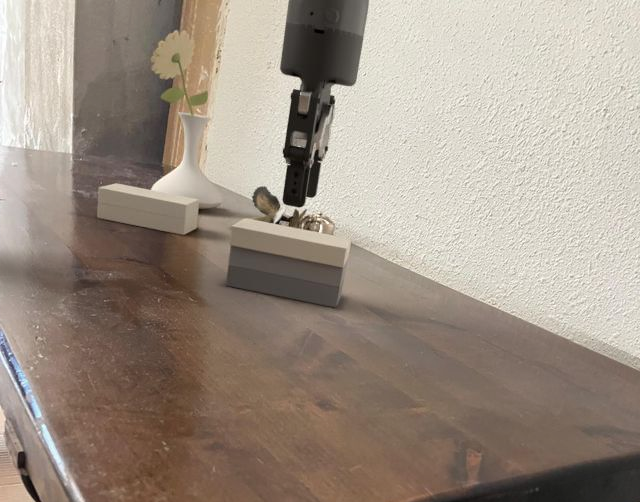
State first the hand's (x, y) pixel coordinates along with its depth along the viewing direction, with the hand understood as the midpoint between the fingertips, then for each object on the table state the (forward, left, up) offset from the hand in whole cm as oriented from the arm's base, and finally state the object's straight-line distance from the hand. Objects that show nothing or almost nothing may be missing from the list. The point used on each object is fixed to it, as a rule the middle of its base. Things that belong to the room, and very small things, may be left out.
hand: (299, 200), depth 77 cm
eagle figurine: (-8, +30, -10) cm, 33 cm away
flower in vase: (-24, +41, -10) cm, 49 cm away
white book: (0, 0, -5) cm, 5 cm away
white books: (-23, +22, -10) cm, 33 cm away
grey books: (0, 0, -10) cm, 10 cm away
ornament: (-2, +36, -10) cm, 37 cm away
